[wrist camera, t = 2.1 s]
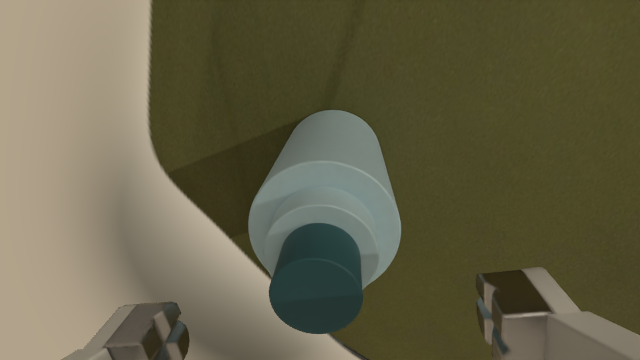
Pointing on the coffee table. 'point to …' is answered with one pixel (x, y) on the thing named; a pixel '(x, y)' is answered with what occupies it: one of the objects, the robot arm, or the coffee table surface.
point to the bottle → (325, 222)
